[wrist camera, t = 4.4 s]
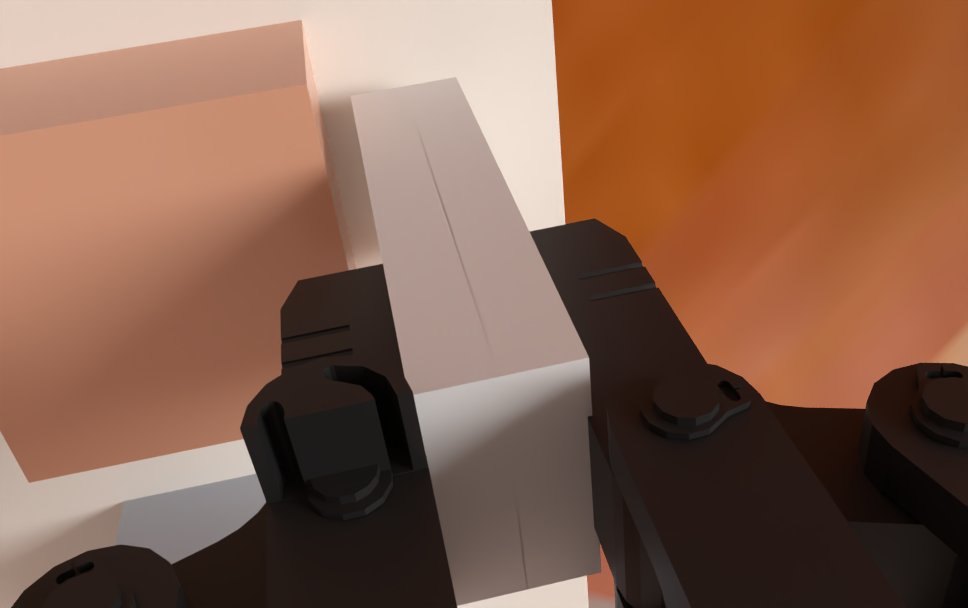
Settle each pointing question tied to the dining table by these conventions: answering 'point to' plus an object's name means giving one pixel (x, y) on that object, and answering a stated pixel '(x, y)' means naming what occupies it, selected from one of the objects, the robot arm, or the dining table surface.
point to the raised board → (338, 75)
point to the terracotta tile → (155, 241)
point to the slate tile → (189, 516)
